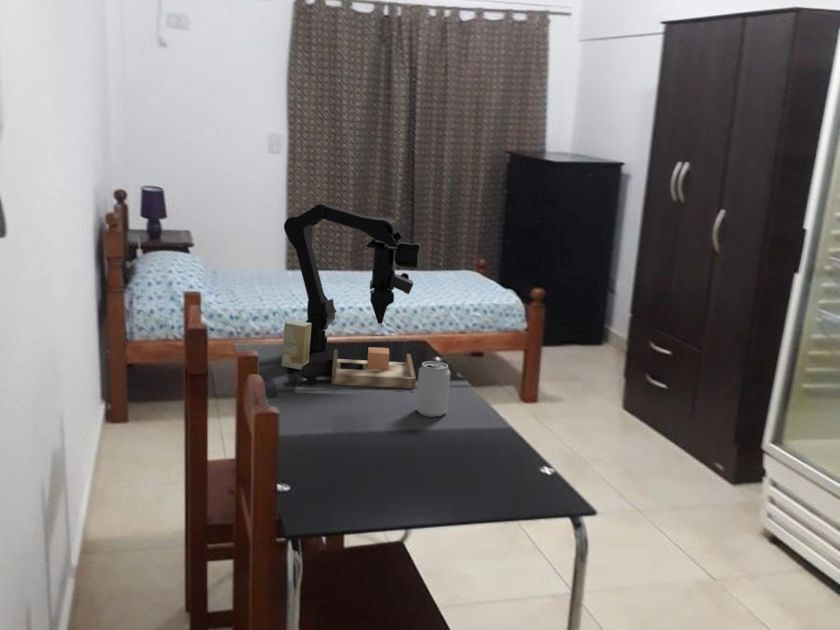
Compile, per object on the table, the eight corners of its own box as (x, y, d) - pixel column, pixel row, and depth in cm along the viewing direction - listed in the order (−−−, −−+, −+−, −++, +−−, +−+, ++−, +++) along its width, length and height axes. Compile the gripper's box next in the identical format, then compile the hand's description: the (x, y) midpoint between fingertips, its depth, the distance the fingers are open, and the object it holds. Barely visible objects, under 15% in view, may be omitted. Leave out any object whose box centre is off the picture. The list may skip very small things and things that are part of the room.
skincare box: (281, 366, 229) (282, 322, 226) (288, 362, 233) (290, 319, 230) (303, 370, 227) (305, 325, 224) (309, 366, 231) (312, 322, 228)
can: (410, 408, 204) (414, 360, 202) (438, 406, 208) (442, 358, 205) (423, 419, 198) (427, 369, 195) (452, 416, 201) (456, 367, 198)
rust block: (367, 368, 228) (368, 352, 227) (367, 362, 234) (368, 347, 233) (388, 369, 229) (389, 353, 228) (387, 364, 234) (388, 348, 233)
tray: (331, 388, 214) (331, 374, 213) (333, 363, 235) (334, 350, 235) (414, 392, 216) (415, 378, 215) (409, 366, 237) (410, 354, 236)
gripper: (414, 273, 225) (410, 330, 228) (410, 260, 243) (406, 314, 246) (372, 270, 224) (368, 328, 227) (371, 258, 242) (368, 312, 245)
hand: (379, 320), depth 237 cm, fingers open, 7 cm apart
